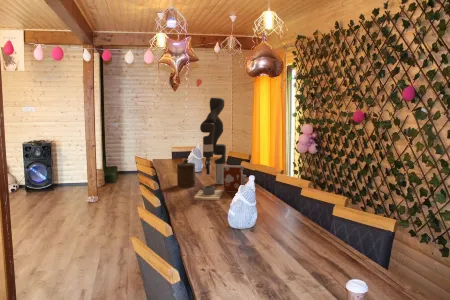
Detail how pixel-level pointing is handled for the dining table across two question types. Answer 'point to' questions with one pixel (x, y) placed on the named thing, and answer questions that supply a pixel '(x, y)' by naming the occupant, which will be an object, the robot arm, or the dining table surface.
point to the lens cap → (209, 172)
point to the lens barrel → (208, 190)
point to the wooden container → (186, 174)
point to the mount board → (208, 197)
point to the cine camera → (233, 177)
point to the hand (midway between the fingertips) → (208, 173)
